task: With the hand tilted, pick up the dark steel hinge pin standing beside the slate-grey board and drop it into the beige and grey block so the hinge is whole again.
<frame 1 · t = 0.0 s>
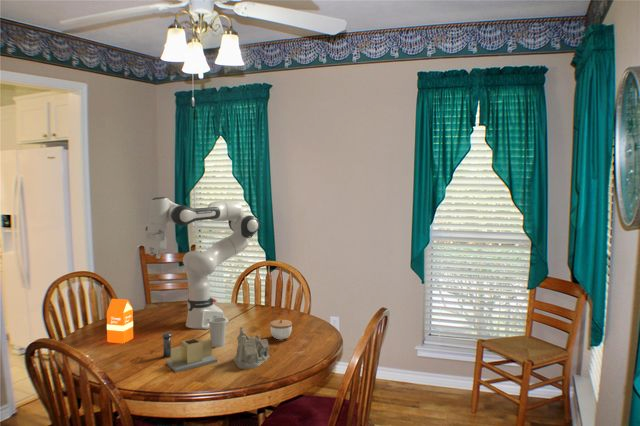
hand: (154, 256, 227), 39 cm above the table, tool pointing down, fingers open, 8 cm apart
ceramic cottage: (252, 361, 197), on the table
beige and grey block: (191, 350, 193), on the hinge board, point 5 cm above the table
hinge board: (191, 362, 194), on the table
orange juice: (120, 340, 220), on the table
hinge pin: (167, 356, 200), on the table
lidded jar: (281, 338, 225), on the table
cup: (217, 345, 215), on the table
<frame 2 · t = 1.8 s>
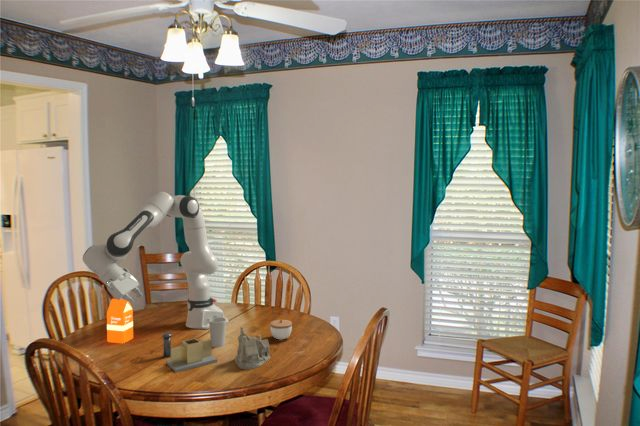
hand: (137, 299, 198), 25 cm above the table, tool tilted 45°, fingers open, 8 cm apart
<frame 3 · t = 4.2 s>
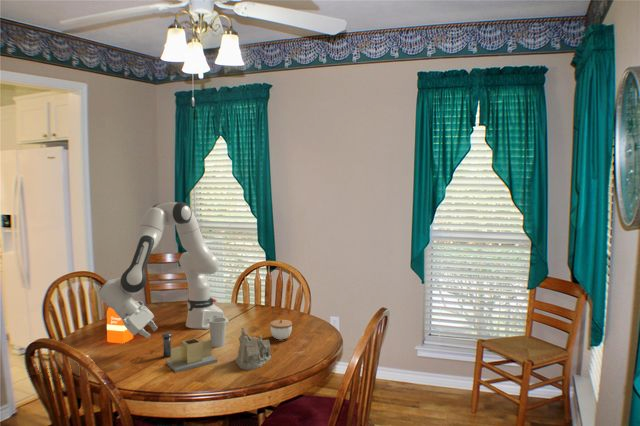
hand: (152, 333, 199), 10 cm above the table, tool tilted 45°, fingers open, 8 cm apart
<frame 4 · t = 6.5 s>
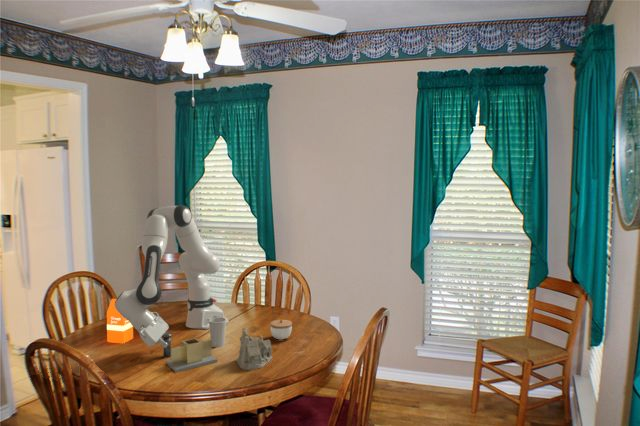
hand: (168, 344, 200), 5 cm above the table, tool tilted 45°, fingers closed on hinge pin, 3 cm apart
hinge pin: (167, 356, 200), on the table, touching gripper
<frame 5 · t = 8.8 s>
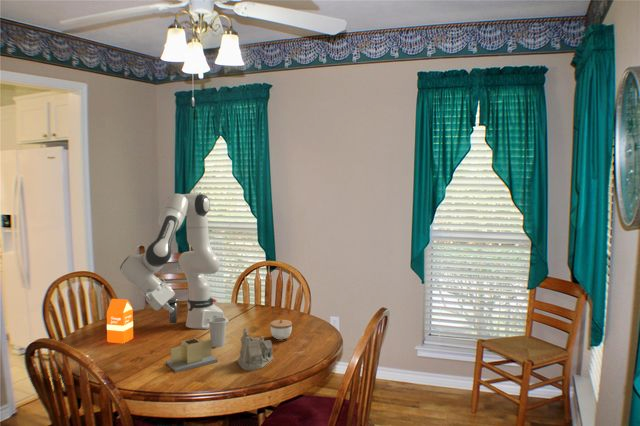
hand: (174, 309, 197), 22 cm above the table, tool tilted 45°, fingers closed on hinge pin, 3 cm apart
hinge pin: (173, 322, 197), point 16 cm above the table, touching gripper
when the fingers open (16 cm above the table, at t = 11.1 s): hinge pin drops 7 cm, resting on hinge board.
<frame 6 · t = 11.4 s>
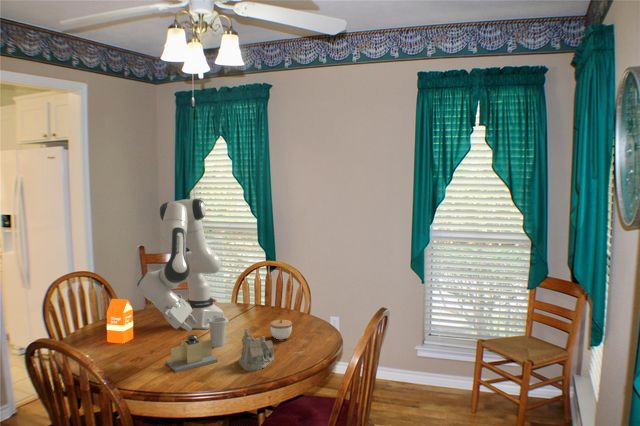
hand: (193, 326, 193), 16 cm above the table, tool tilted 45°, fingers open, 7 cm apart
hinge pin: (191, 359, 194), point 1 cm above the table, tilted 5°, touching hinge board
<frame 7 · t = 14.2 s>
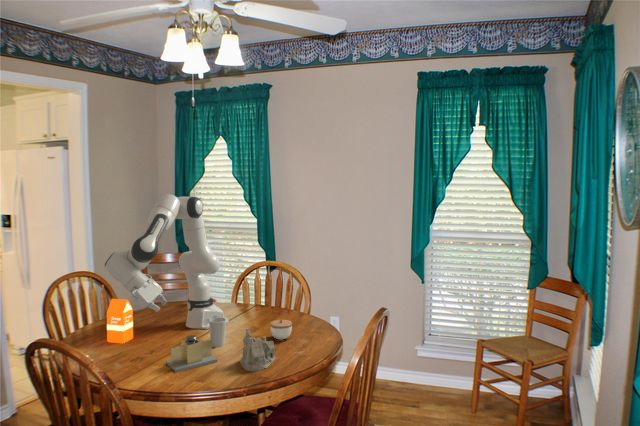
hand: (162, 306, 192), 24 cm above the table, tool tilted 45°, fingers open, 8 cm apart
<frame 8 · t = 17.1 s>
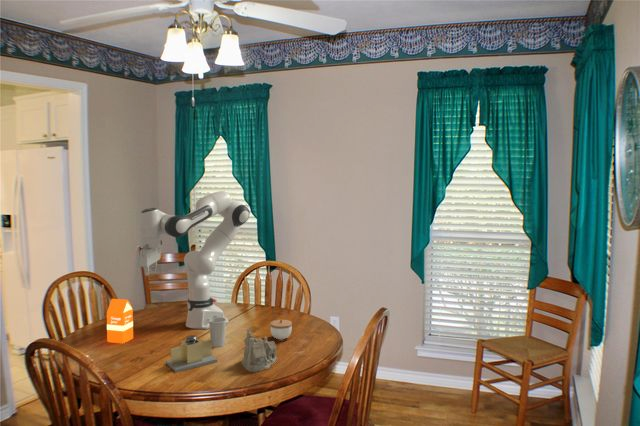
hand: (150, 273, 211), 34 cm above the table, tool pointing down, fingers open, 8 cm apart
at the end: hinge pin 0.2 cm off-centre on the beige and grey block, point 1.2 cm above the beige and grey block's base; hinge pin tilted 0°; the gripper is holding nothing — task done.
